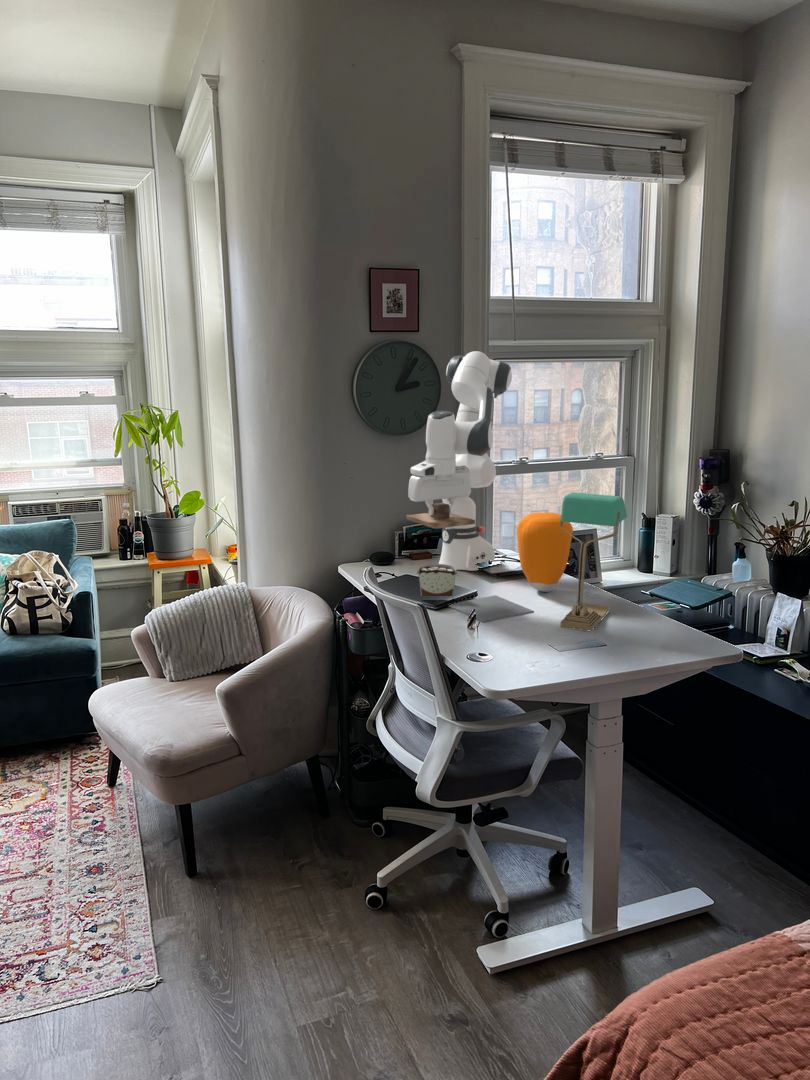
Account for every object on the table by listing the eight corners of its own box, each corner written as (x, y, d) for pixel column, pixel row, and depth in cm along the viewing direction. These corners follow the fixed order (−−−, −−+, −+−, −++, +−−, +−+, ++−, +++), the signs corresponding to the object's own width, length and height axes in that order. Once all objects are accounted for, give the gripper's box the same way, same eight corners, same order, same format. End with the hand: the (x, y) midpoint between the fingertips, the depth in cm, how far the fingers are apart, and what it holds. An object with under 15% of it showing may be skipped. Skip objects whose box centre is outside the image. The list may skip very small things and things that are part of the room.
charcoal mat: (495, 596, 249) (495, 595, 249) (533, 612, 234) (533, 610, 234) (446, 605, 240) (446, 604, 240) (483, 622, 225) (483, 621, 225)
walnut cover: (444, 514, 252) (444, 498, 251) (474, 523, 239) (475, 506, 238) (405, 519, 245) (406, 502, 244) (434, 528, 232) (435, 510, 231)
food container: (458, 595, 250) (458, 564, 248) (457, 601, 244) (458, 569, 242) (418, 594, 251) (418, 562, 249) (416, 600, 245) (416, 568, 243)
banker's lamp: (547, 624, 223) (553, 499, 215) (569, 604, 241) (575, 487, 233) (604, 633, 216) (612, 504, 208) (623, 612, 234) (631, 492, 226)
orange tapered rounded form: (505, 586, 260) (507, 509, 254) (551, 581, 266) (555, 506, 260) (532, 601, 244) (535, 520, 238) (580, 596, 250) (585, 516, 244)
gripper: (463, 463, 246) (462, 508, 249) (405, 468, 236) (405, 515, 239) (475, 466, 241) (474, 512, 244) (417, 471, 231) (416, 518, 234)
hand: (439, 513), depth 242 cm, fingers closed on walnut cover, 4 cm apart
